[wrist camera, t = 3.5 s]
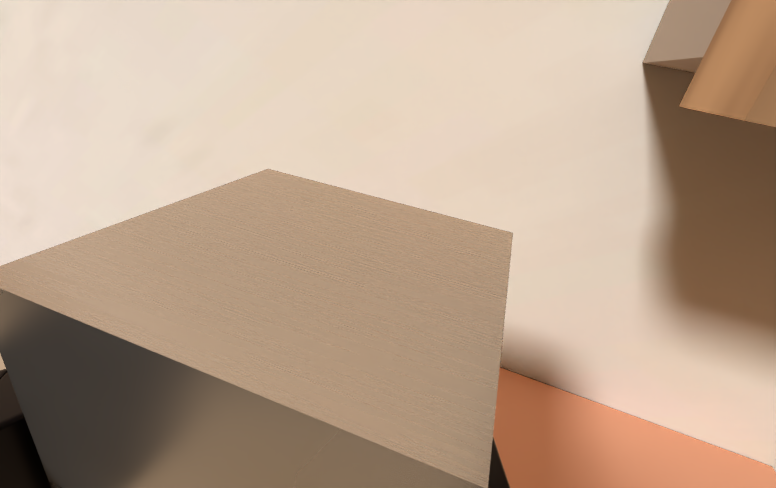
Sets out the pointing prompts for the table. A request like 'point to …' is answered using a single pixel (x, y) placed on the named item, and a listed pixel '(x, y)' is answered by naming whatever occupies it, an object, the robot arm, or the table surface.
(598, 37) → the table surface
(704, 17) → the plinth
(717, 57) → the slab
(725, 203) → the table surface
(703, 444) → the end stop
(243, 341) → the support block
